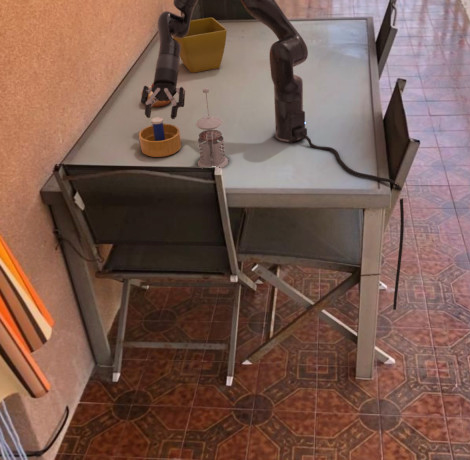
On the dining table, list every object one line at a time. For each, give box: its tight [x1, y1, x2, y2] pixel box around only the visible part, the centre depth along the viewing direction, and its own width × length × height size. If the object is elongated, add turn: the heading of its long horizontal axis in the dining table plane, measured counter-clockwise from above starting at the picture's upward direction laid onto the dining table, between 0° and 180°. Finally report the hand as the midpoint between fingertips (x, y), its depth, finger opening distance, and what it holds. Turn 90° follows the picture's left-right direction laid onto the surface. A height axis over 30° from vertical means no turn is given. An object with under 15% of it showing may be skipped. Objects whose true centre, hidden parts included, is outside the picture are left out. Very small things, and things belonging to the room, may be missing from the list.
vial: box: [150, 116, 165, 141], centre depth 215 cm, size 4×4×10 cm
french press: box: [195, 87, 229, 169], centre depth 201 cm, size 10×12×25 cm
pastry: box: [140, 81, 172, 108], centre depth 247 cm, size 12×12×9 cm
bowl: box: [138, 123, 182, 158], centre depth 216 cm, size 13×13×6 cm
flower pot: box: [172, 17, 228, 74], centre depth 274 cm, size 19×19×17 cm
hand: (160, 117), depth 214 cm, fingers open, 8 cm apart
